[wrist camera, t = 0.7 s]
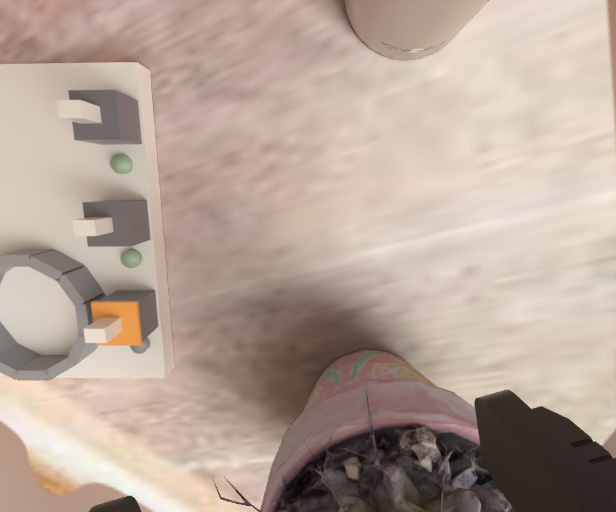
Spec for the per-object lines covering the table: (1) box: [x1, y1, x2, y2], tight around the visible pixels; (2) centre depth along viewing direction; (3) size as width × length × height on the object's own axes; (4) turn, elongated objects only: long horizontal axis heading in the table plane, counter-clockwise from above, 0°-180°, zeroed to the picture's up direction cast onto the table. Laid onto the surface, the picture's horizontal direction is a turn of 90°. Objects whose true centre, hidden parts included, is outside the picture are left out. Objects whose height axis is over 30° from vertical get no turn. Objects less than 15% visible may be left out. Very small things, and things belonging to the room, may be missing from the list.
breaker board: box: [0, 62, 175, 380], centre depth 26 cm, size 24×14×7 cm, turn 0°
